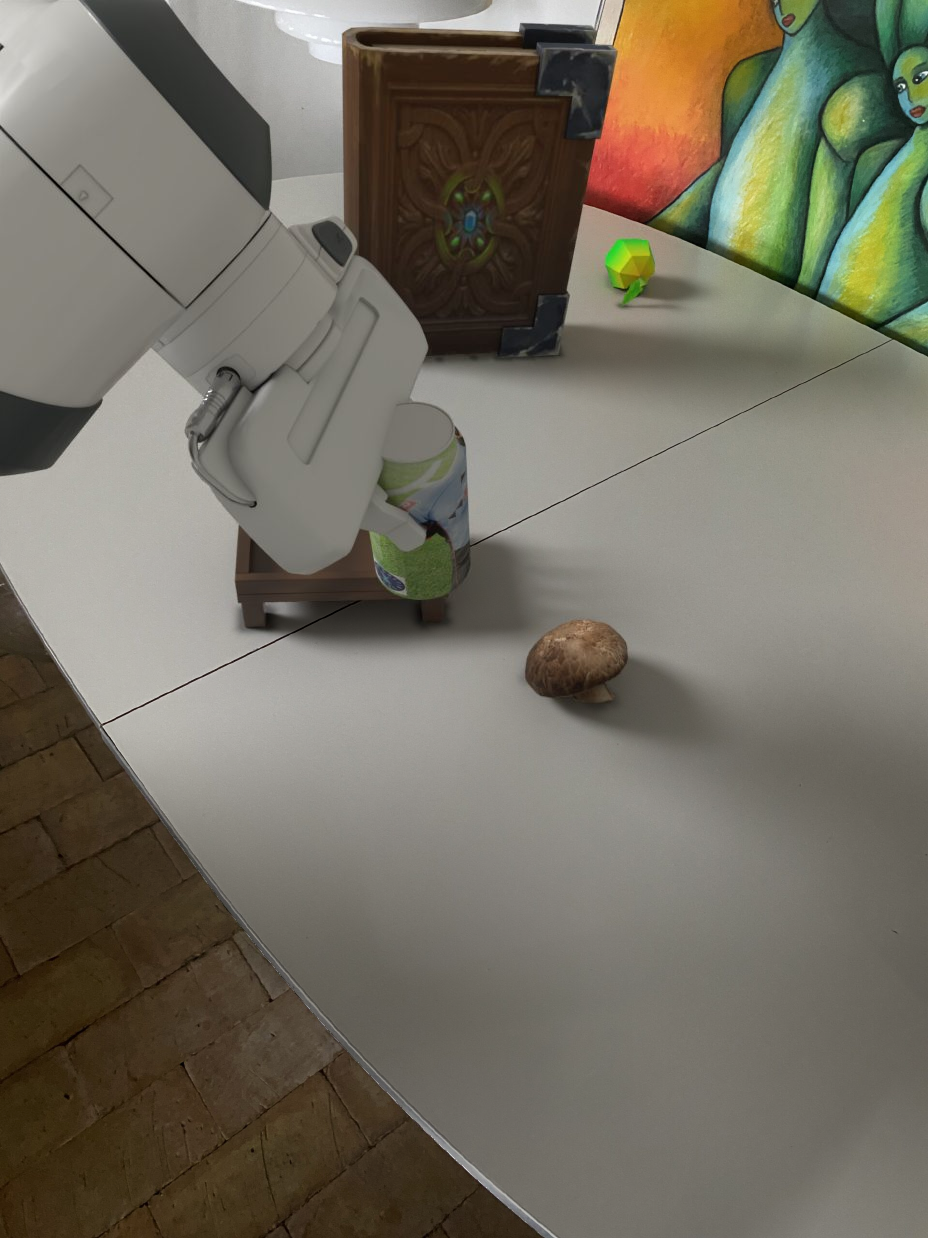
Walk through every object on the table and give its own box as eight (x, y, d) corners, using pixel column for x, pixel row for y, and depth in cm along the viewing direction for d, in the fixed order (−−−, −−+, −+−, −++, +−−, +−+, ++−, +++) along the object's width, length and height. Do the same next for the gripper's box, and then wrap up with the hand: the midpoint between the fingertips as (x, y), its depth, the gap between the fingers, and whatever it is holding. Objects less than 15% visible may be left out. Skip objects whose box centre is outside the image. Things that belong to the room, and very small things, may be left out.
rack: (241, 629, 68) (225, 525, 60) (247, 532, 75) (234, 427, 67) (445, 623, 70) (456, 522, 62) (432, 529, 77) (441, 428, 69)
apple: (626, 214, 107) (655, 248, 101) (653, 246, 111) (682, 280, 106) (583, 258, 110) (608, 293, 104) (610, 288, 114) (637, 323, 109)
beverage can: (486, 589, 56) (514, 434, 47) (387, 631, 52) (397, 474, 44) (432, 529, 59) (449, 374, 50) (336, 566, 56) (336, 407, 47)
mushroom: (657, 704, 63) (629, 630, 60) (554, 747, 63) (523, 675, 61) (626, 660, 70) (601, 593, 68) (535, 698, 70) (506, 633, 68)
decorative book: (540, 321, 103) (591, 24, 80) (558, 355, 98) (617, 50, 76) (341, 330, 98) (337, 15, 75) (351, 366, 93) (350, 42, 71)
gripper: (214, 412, 35) (434, 618, 42) (347, 202, 49) (497, 384, 56) (129, 477, 39) (345, 657, 46) (275, 264, 52) (424, 428, 59)
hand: (429, 505), depth 51 cm, fingers closed on beverage can, 4 cm apart
